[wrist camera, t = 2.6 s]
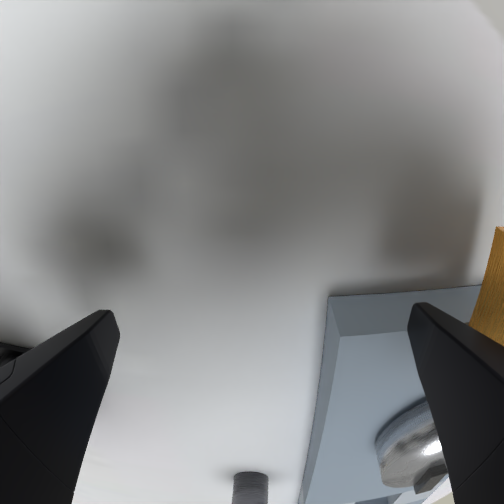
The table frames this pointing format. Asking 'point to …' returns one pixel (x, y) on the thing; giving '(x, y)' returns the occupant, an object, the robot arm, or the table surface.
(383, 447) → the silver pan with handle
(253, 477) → the pin
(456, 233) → the table surface
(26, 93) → the table surface
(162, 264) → the table surface
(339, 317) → the plate
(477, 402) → the robot arm
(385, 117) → the table surface
